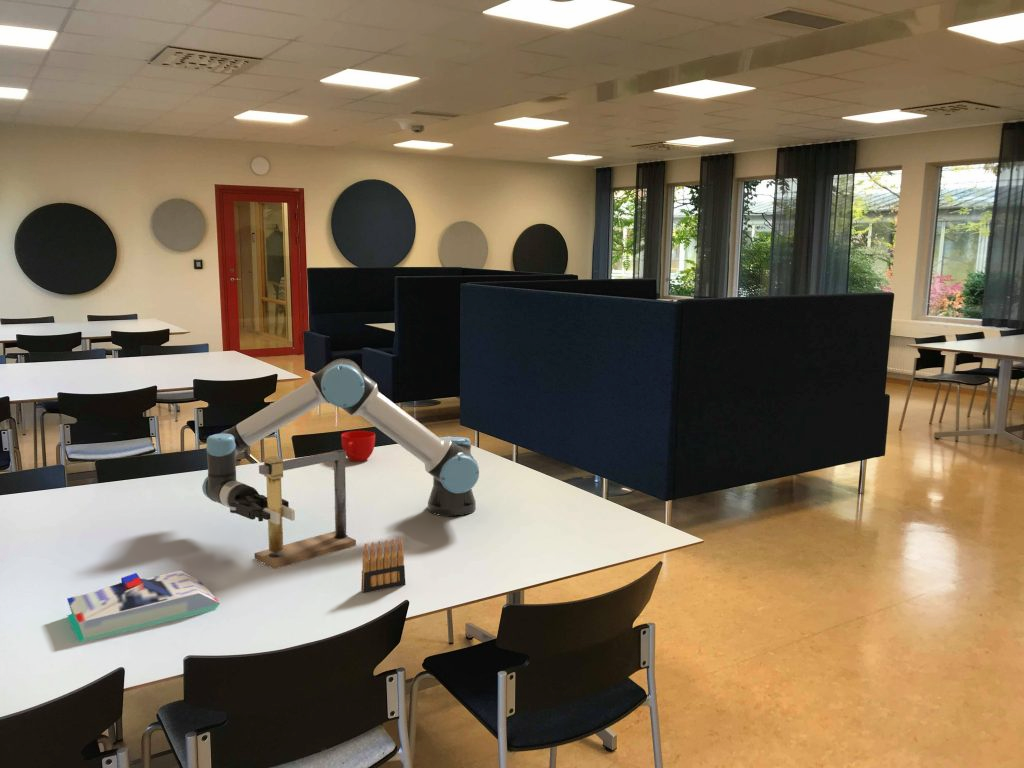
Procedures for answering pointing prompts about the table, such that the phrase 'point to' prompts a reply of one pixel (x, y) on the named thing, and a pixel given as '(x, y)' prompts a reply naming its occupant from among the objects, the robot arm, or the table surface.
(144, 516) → the table surface
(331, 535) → the walnut board
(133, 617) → the toy car
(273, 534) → the brass leg
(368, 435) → the ceramic cup
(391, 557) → the ammunition clip
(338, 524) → the steel frame
